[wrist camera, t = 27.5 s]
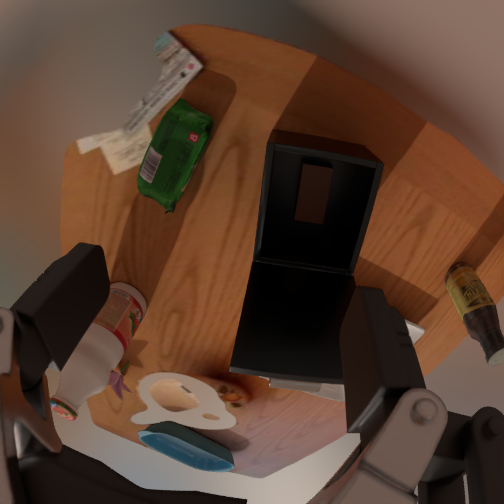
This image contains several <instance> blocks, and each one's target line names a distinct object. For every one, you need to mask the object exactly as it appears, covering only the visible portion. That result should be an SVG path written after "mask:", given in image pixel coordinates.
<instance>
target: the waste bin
mask: <svg viewBox="0 0 504 504" xmlns="http://www.w3.org/2000/svg"><path fill="white" fill-rule="evenodd" d="M302 159H306V160H312V161H318V162H324V163H330V164H332V166H333V168H334V170H333V176H332V181H331V186H330V192H329V197H328V202H327V207H326V212H325V216H324V221H323V224H318V223H311V222H305V221H298V220H294V210H295V204H296V197H297V191H298V184H299V178H300V171H301V164H302ZM383 166H384V163H383V162H382V161H381V160H380V159H379V158H378V157H376V156H375V155H374V154H373V153H372V152H371V151H370V150H369V149H367V148H366V147H365V146H364V145H360V144H355V143H350V142H345V141H340V140H335V139H330V138H325V137H319V136H314V135H308V134H302V133H295V132H289V131H282V130H274V129H273V130H272V132H271V134H270V137H269V139H268V142H267V147H266V155H265V164H264V172H263V180H262V189H261V197H260V205H259V214H258V222H257V230H256V238H255V247H254V255H253V261H256V262H263V263H269V264H276V265H283V266H290V267H296V268H303V269H310V270H317V271H324V272H331V273H337V274H344V275H351V276H352V275H353V272H354V269H355V266H356V263H357V260H358V257H359V254H360V250H361V247H362V244H363V241H364V237H365V234H366V231H367V227H368V224H369V220H370V217H371V213H372V210H373V206H374V202H375V198H376V195H377V191H378V187H379V183H380V179H381V175H382V171H383Z"/></svg>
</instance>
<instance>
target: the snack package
mask: <svg viewBox="0 0 504 504" xmlns="http://www.w3.org/2000/svg"><path fill="white" fill-rule="evenodd" d="M212 129H213V119H212V118H211V116H210V115H208V114H205V113H202V112H200V111H198V110H196V109H194V108H192V107H191V106H190V105H189V104H188V103H187V102H186V100H184V99H182V98H180V99H179V100H178V101H177V102H176V103H175V104H174V105H173V106H172V107H171V108H170V109H169V110H168V111H167V112H166V113H165V115H164V116H163V118H162V119H161V121H160V123H159V125H158V127H157V129H156V131H155V133H154V136H153V138H152V140H151V143H150V145H149V147H148V149H147V151H146V154H145V156H144V159H143V161H142V164H141V166H140V169H139V173H138V177H137V187H138V189H139V191H140V193H141V194H142V195H143V196H146V197H149V198H152V199H154V200H156V201H157V202H158V203H159V204H161V205H162V206H163V207H164V208H165V209H166V210H167V212H172V213H173V212H174V210H175V206H176V203H177V202H178V200H179V199H180V197H181V196H182V194H183V193H184V191H185V189H186V187H187V185H188V183H189V181H190V179H191V177H192V175H193V173H194V170H195V168H196V166H197V164H198V162H199V160H200V158H201V156H202V154H203V152H204V150H205V148H206V146H207V145H208V143H209V140H210V138H211V134H212ZM167 212H165V214H166V213H167Z"/></svg>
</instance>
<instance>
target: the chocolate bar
mask: <svg viewBox="0 0 504 504" xmlns="http://www.w3.org/2000/svg"><path fill="white" fill-rule="evenodd" d="M333 170H334V168H333V166H332V164H330V163H324V162H318V161H312V160H306V159H302V164H301V171H300V178H299V184H298V191H297V197H296V204H295V210H294V220H298V221H305V222H311V223H318V224H323V221H324V216H325V212H326V207H327V202H328V197H329V192H330V186H331V181H332V176H333Z"/></svg>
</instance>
